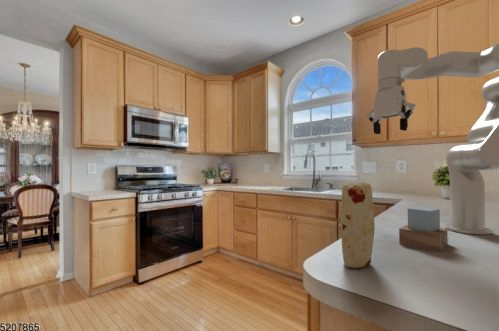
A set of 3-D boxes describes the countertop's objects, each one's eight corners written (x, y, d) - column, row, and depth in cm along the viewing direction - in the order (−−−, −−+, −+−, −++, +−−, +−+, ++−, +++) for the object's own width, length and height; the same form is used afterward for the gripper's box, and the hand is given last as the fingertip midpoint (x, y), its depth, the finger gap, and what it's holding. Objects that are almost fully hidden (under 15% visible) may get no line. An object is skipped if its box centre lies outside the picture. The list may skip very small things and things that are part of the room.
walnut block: (409, 238, 82) (409, 223, 82) (447, 245, 75) (447, 228, 75) (399, 244, 75) (399, 228, 75) (440, 253, 68) (439, 234, 68)
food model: (360, 275, 54) (359, 183, 54) (333, 265, 59) (332, 181, 59) (381, 264, 60) (380, 181, 60) (354, 256, 65) (354, 180, 65)
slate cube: (417, 225, 79) (417, 206, 79) (439, 229, 74) (439, 209, 74) (407, 227, 76) (407, 208, 76) (430, 232, 71) (429, 211, 71)
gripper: (420, 80, 85) (420, 129, 85) (373, 93, 100) (374, 135, 100) (408, 76, 82) (409, 128, 81) (361, 90, 97) (362, 134, 96)
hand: (389, 132), depth 91 cm, fingers open, 9 cm apart
